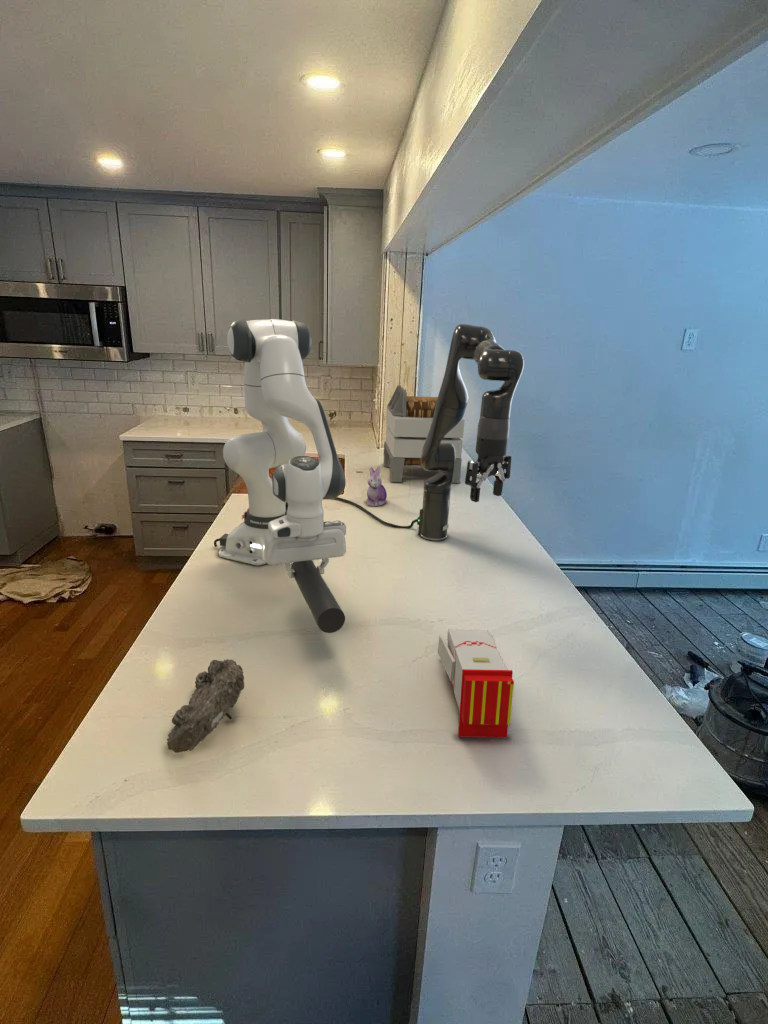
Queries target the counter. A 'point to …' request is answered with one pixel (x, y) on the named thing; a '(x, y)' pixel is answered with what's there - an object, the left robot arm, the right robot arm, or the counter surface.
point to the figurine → (375, 489)
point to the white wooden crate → (414, 433)
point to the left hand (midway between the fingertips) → (306, 575)
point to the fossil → (206, 705)
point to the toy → (478, 682)
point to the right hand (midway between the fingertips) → (485, 498)
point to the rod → (318, 597)
